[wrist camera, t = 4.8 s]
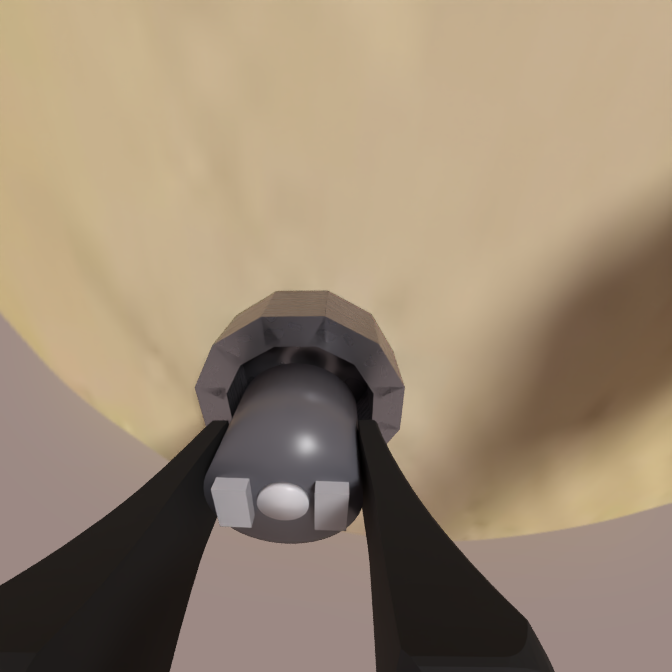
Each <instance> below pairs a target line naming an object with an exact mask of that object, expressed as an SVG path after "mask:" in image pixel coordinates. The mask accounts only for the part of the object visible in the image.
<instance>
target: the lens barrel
mask: <svg viewBox="0 0 672 672" xmlns="http://www.w3.org/2000/svg"><path fill="white" fill-rule="evenodd" d="M289 363H301V364H309V365H314V366H317V367H320V368H323V369H325V370H327V371H330V372H331V373H333V374H335V375H336V376H337V377H339V378H340V379H341V380H342V381H343V382H344V383H345V384H346V385H347V386H348V387H349V389H350V390H351V392H352V394H353V396H354V398H355V401H356V406H357V417H358V424H359V420H375V421H376V422H377V424H378V426H379V429H380V431H381V434H382V436H383V438H384V440H385V442H386V444H387V443H388V442H389V441H390V440H391V438H392V437H393V436H394V435H395V434H396V433H397V432H398V431H399V429H400V423H401V415H402V406H403V397H404V389H405V386H404V383H403V380H402V377H401V374H400V371H399V368H398V365H397V362H396V359H395V355H394V352H393V350H392V349H391V347H390V345H389V343H388V342H387V340H386V338H385V336H384V335H383V333H382V331H381V330H380V328H379V326H378V324H377V323H376V321H375V319H374V318H373V316H372V314H370V313H368V312H366V311H365V310H363V309H361V308H359V307H357V306H355V305H353V304H352V303H350V302H348V301H346V300H344V299H342V298H340V297H339V296H337V295H335V294H333V293H331V292H329V291H276V292H274V293H273V294H271V295H269V296H268V297H266V298H264V299H263V300H261V301H259V302H258V303H256V304H254V305H253V306H251V307H249V308H248V309H246V310H244V311H243V312H241V313H239V314H238V315H236V317H235V318H234V319H233V320H232V322H231V323H230V324H229V325H228V327H227V328H226V329H225V330H224V332H223V333H222V334H221V335H220V337H219V338H218V339H217V340H216V341H215V343H214V344H213V345H212V348H211V350H210V353H209V355H208V357H207V360H206V362H205V364H204V367H203V369H202V372H201V374H200V376H199V379H198V381H197V384H196V386H195V390H196V394H197V397H198V400H199V404H200V407H201V411H202V414H203V418H204V421H205V425H206V426H207V425H208V424H209V423H210V422H212V421H213V420H228V422H229V424H230V422H231V420H232V418H233V416H234V414H235V412H236V409H237V407H238V405H239V403H240V401H241V399H242V397H243V394H244V392H245V390H246V388H247V386H248V385H249V384H250V382H251V381H252V380H253V379H254V378H255V377H256V376H257V375H259V374H260V373H261V372H263V371H265V370H267V369H269V368H272V367H274V366H278V365H282V364H289Z"/></svg>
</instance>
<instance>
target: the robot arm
mask: <svg viewBox="0 0 672 672" xmlns="http://www.w3.org/2000/svg"><path fill="white" fill-rule="evenodd" d="M228 426H229V422H228V420H213V421H212V422H210V423H209V424H208V425H207V426H206V427H205V428H204V429H203V430H202V431H201V432H200V433H199V434H198V435H197V436H196V437H195V438H194V439H193V440H192V441H191V442H190V443H189V444H188V445H187V446H186V447H185V448H184V449H183V450H182V451H181V452H180V453H179V454H178V455H177V456H176V457H174V458H173V459H172V460H171V461H170V462H169V463H168V464H167V465H166V466H165V467H164V468H163V469H162V470H161V471H159V472H158V473H157V474H156V475H155V476H154V477H153V478H152V479H150V480H149V481H148V482H147V483H146V484H145V485H144V486H143V487H141V488H140V489H139V490H138V491H137V492H136V493H134V494H133V495H132V496H131V497H129V498H128V499H127V500H126V501H124V502H123V503H122V504H120V505H119V506H118V507H117V508H116V509H114V510H113V511H112V512H110V513H109V514H108V515H106V516H105V517H104V518H102V519H101V520H99V521H98V522H97V523H95V524H94V525H92V526H91V527H89V528H88V529H87V530H85V531H84V532H82V533H81V534H80V535H78V536H77V537H75V538H74V539H73V540H71V541H70V542H68V543H67V544H65V545H64V546H63V547H61V548H59V549H58V550H56V551H55V552H53V553H52V554H50V555H49V556H47V557H46V558H44V559H42V560H41V561H39V562H38V563H36V564H35V565H33V566H31V567H30V568H28V569H27V570H25V571H23V572H22V573H20V574H19V575H17V576H15V577H14V578H12V579H10V580H9V581H7V582H5V583H4V584H2V585H0V672H169V671H170V668H171V664H172V660H173V656H174V652H175V648H176V645H177V640H178V637H179V633H180V629H181V626H182V622H183V619H184V615H185V611H186V607H187V604H188V601H189V597H190V594H191V590H192V587H193V584H194V580H195V577H196V574H197V570H198V567H199V563H200V560H201V558H202V554H203V552H204V549H205V546H206V544H207V541H208V539H209V536H210V534H211V531H212V529H213V526H214V524H215V521H216V518H217V516H216V515H215V514H214V512H213V511H212V510H211V509H210V507H209V505H208V503H207V501H206V498H205V496H204V489H203V488H204V479H205V476H206V473H207V471H208V469H209V467H210V465H211V463H212V461H213V459H214V456H215V454H216V452H217V450H218V448H219V446H220V444H221V441H222V439H223V437H224V435H225V433H226V431H227V429H228ZM358 434H359V447H360V458H361V471H362V485H363V504H362V510H363V516H364V523H365V530H366V537H367V544H368V552H369V561H370V575H371V591H372V606H373V621H374V639H375V654H376V655H375V656H376V672H554V669H553V667H552V665H551V663H550V661H549V659H548V657H547V654H546V653H545V651H544V649H543V647H542V645H541V644H540V642H539V640H538V638H537V636H536V634H535V632H534V631H533V629H532V627H531V625H530V624H529V622H528V620H527V619H526V618H525V617H524V616H523V615H522V614H521V613H520V612H518V610H517V609H516V608H515V607H514V606H512V605H511V604H510V603H509V602H508V601H507V600H506V599H505V598H504V597H503V596H502V595H501V594H500V593H499V592H498V591H497V590H496V589H495V588H494V587H493V586H492V585H491V584H490V582H489V581H488V580H486V578H485V577H484V576H483V575H482V574H481V573H480V572H479V571H478V570H477V569H476V568H475V567H474V565H473V564H472V563H471V562H470V561H469V560H468V559H467V558H466V557H465V555H464V554H463V553H462V552H461V551H460V550H459V548H458V547H457V546H456V545H455V544H454V543H453V541H452V540H451V539H450V538H449V537H448V536H447V534H446V533H445V532H444V531H443V530H442V528H441V527H440V526H439V525H438V523H437V522H436V521H435V519H434V518H433V517H432V516H431V514H430V513H429V512H428V510H427V509H426V508H425V506H424V505H423V503H422V502H421V501H420V499H419V498H418V496H417V495H416V493H415V492H414V490H413V489H412V487H411V486H410V484H409V483H408V481H407V480H406V478H405V476H404V475H403V473H402V472H401V470H400V468H399V466H398V465H397V463H396V461H395V459H394V458H393V456H392V454H391V452H390V450H389V448H388V446H387V444H386V442H385V440H384V438H383V436H382V434H381V431H380V429H379V426H378V424H377V422H376V421H375V420H359V424H358Z"/></svg>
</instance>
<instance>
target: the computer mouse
mask: <svg viewBox="0 0 672 672" xmlns="http://www.w3.org/2000/svg"><path fill="white" fill-rule="evenodd" d="M203 489H204V496H205V498H206V501H207V503H208V505H209V507H210V509H211V510H212V511H213V512H214V514H215V515H216V516H217V517H218V521H219V525H220V526H222V527H231V528H233V529H234V530H236V531H238V532H240V533H242V534H245V535H248V536H250V537H253V538H257V539H260V540H265V541H269V542H276V543H287V544H288V543H289V544H290V543H292V544H296V543H307V542H314V541H318V540H322V539H325V538H328V537H331V536H333V535H335V534H337V533H339V532H341V531H346V528H347V527H348V526H349V525H350V524H351V523H352V522H353V521H354V520H355V519H356V518H357V516H358V515H359V513H360V511H361V508H362V504H363V485H362V471H361V458H360V447H359V434H358V417H357V406H356V401H355V398H354V396H353V394H352V392H351V390H350V389H349V387H348V386H347V385H346V384H345V383H344V382H343V381H342V380H341V379H340V378H339V377H337V376H336V375H335V374H333V373H331V372H330V371H327V370H325V369H323V368H320V367H317V366H314V365H309V364H301V363H289V364H282V365H278V366H274V367H272V368H269V369H267V370H265V371H263V372H261V373H260V374H259V375H257V376H256V377H255V378H254V379H253V380H252V381H251V382H250V384H249V385H248V386H247V388H246V390H245V392H244V394H243V397H242V399H241V401H240V403H239V405H238V407H237V409H236V412H235V414H234V416H233V418H232V420H231V422H230V424H229V426H228V429H227V431H226V433H225V435H224V437H223V439H222V441H221V444H220V446H219V448H218V450H217V452H216V454H215V456H214V459H213V461H212V463H211V465H210V467H209V469H208V471H207V473H206V476H205V479H204V488H203Z"/></svg>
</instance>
